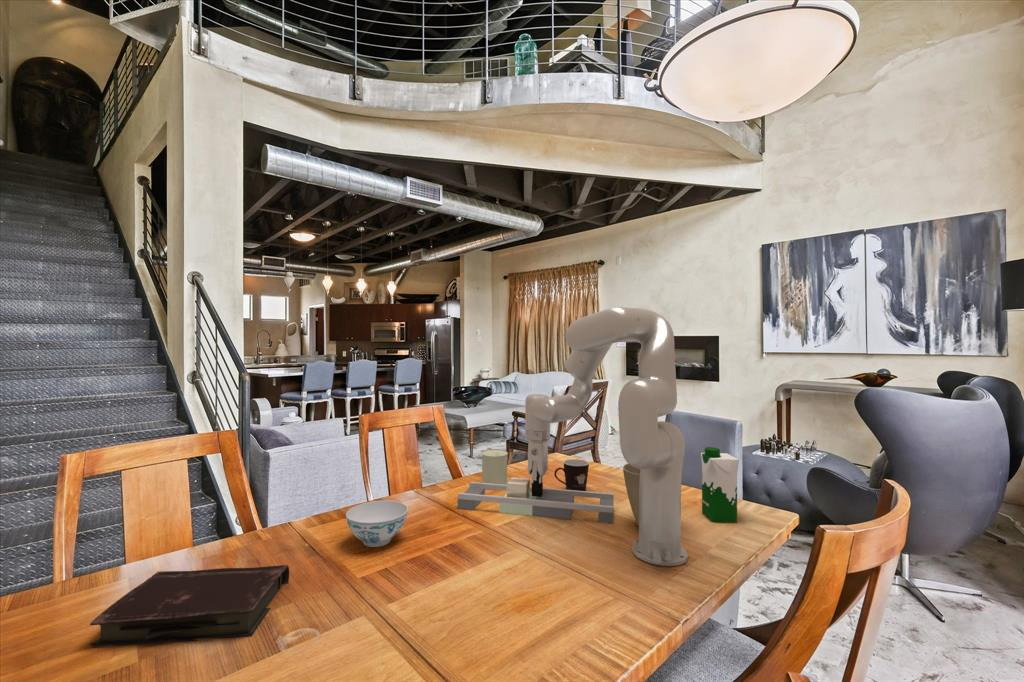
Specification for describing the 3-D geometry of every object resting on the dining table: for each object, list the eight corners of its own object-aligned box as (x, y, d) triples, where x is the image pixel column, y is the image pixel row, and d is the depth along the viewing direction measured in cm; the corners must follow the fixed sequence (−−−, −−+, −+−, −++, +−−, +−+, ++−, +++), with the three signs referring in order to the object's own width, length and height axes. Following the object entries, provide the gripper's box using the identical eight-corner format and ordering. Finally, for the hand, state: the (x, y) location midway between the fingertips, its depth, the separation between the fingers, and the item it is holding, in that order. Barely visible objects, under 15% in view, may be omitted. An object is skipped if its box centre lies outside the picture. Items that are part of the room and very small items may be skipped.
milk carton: (697, 511, 135) (698, 445, 135) (728, 512, 135) (728, 445, 135) (709, 523, 127) (710, 452, 127) (742, 524, 126) (742, 452, 126)
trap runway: (613, 523, 126) (613, 507, 126) (457, 508, 137) (457, 493, 137) (613, 508, 138) (613, 493, 138) (470, 495, 148) (470, 481, 148)
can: (488, 491, 153) (488, 456, 153) (477, 483, 161) (477, 450, 161) (512, 487, 157) (512, 453, 157) (500, 480, 165) (500, 447, 165)
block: (526, 501, 135) (526, 484, 135) (506, 499, 136) (506, 483, 136) (529, 494, 140) (530, 478, 140) (511, 493, 142) (511, 477, 142)
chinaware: (332, 546, 111) (332, 515, 111) (377, 525, 124) (377, 496, 124) (377, 560, 104) (378, 527, 104) (419, 536, 117) (420, 506, 117)
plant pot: (671, 516, 131) (671, 462, 131) (685, 538, 117) (685, 477, 117) (619, 514, 133) (619, 460, 133) (626, 535, 118) (627, 475, 118)
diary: (159, 593, 91) (160, 568, 92) (289, 585, 95) (289, 561, 95) (84, 654, 73) (85, 623, 73) (249, 642, 76) (249, 612, 76)
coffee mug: (588, 488, 156) (588, 459, 156) (589, 496, 148) (589, 466, 148) (554, 487, 158) (554, 458, 158) (554, 495, 149) (554, 465, 149)
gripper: (546, 441, 129) (545, 505, 129) (553, 431, 144) (552, 488, 144) (520, 439, 131) (520, 503, 131) (529, 430, 145) (529, 487, 145)
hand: (537, 495), depth 137 cm, fingers closed
